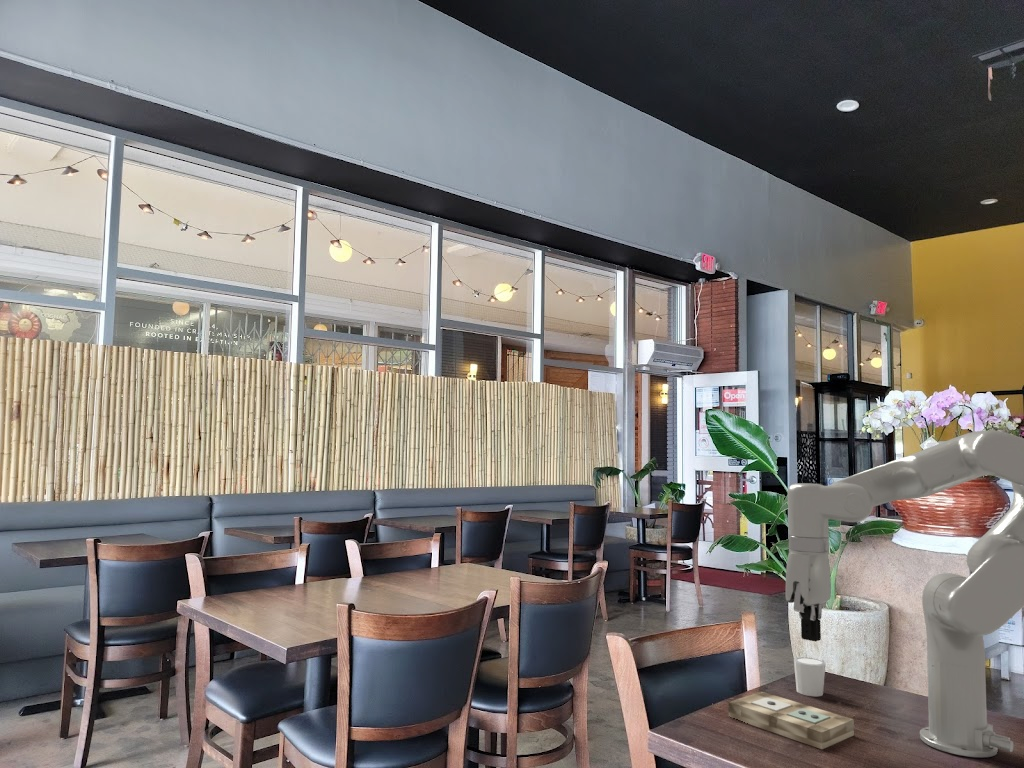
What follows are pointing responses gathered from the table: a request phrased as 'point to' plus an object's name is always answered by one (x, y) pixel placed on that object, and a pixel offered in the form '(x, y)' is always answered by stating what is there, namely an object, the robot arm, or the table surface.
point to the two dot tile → (808, 716)
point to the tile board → (792, 721)
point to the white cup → (809, 676)
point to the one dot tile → (771, 704)
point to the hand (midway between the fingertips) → (811, 639)
